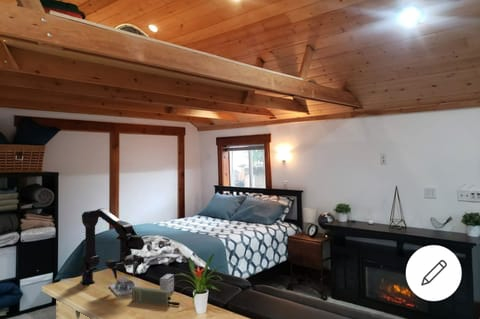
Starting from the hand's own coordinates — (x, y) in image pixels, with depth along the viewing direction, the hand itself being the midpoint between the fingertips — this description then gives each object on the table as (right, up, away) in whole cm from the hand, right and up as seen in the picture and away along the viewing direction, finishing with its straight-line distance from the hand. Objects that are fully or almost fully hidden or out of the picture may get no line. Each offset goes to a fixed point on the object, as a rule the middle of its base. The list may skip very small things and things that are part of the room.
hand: (125, 277), depth 183 cm
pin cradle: (0, -6, 0) cm, 6 cm away
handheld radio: (+21, -6, -18) cm, 28 cm away
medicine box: (+23, -6, -6) cm, 25 cm away
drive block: (0, -5, 0) cm, 5 cm away
